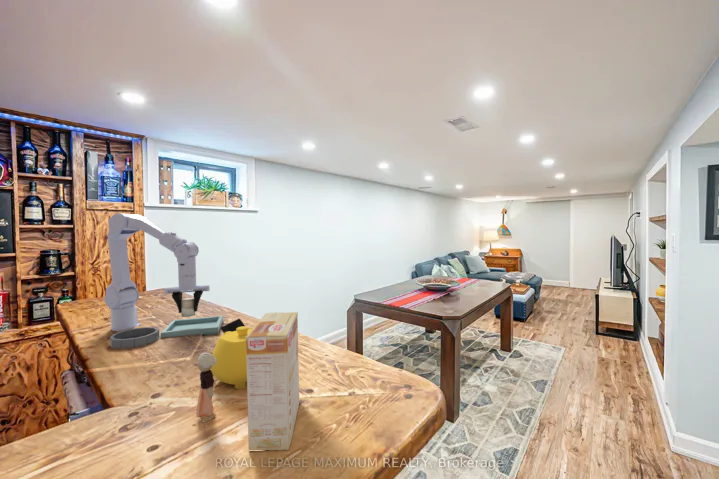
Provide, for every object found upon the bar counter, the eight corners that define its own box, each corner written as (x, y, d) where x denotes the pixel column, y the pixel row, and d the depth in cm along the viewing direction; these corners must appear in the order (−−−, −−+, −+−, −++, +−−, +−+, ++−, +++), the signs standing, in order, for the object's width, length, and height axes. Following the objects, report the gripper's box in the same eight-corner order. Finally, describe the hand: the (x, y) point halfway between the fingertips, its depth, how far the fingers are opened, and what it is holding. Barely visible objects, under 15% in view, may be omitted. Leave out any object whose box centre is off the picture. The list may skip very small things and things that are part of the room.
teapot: (246, 360, 88) (245, 316, 88) (295, 379, 77) (294, 328, 76) (198, 379, 77) (197, 329, 77) (247, 404, 65) (246, 345, 65)
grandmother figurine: (190, 412, 63) (188, 350, 62) (210, 405, 65) (208, 345, 65) (203, 429, 57) (201, 362, 57) (224, 420, 60) (223, 356, 60)
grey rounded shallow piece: (120, 339, 107) (120, 329, 107) (163, 335, 111) (163, 325, 111) (103, 353, 95) (102, 342, 94) (151, 347, 99) (151, 337, 98)
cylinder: (183, 314, 117) (182, 298, 117) (196, 313, 118) (195, 297, 118) (180, 317, 113) (179, 301, 112) (193, 316, 114) (193, 300, 114)
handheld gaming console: (252, 339, 101) (235, 315, 102) (234, 354, 100) (217, 329, 101) (264, 333, 112) (248, 311, 113) (248, 346, 112) (232, 323, 113)
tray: (173, 326, 121) (172, 320, 121) (223, 321, 127) (222, 315, 127) (160, 340, 106) (160, 332, 106) (218, 334, 111) (218, 327, 111)
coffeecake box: (266, 403, 66) (265, 312, 65) (300, 401, 66) (299, 311, 66) (246, 453, 51) (243, 336, 51) (289, 450, 52) (287, 334, 51)
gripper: (161, 277, 109) (162, 316, 109) (207, 275, 113) (208, 312, 114) (167, 275, 116) (168, 311, 116) (209, 273, 120) (210, 307, 121)
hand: (188, 311), depth 115 cm, fingers closed on cylinder, 4 cm apart
